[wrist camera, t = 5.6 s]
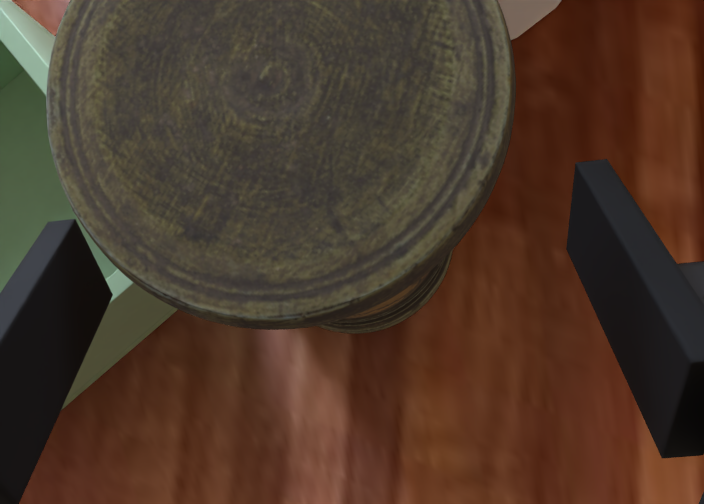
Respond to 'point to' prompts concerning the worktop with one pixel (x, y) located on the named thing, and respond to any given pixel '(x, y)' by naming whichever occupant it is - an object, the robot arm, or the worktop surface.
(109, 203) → the container
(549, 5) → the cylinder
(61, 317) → the robot arm
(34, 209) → the tub
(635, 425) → the worktop surface
